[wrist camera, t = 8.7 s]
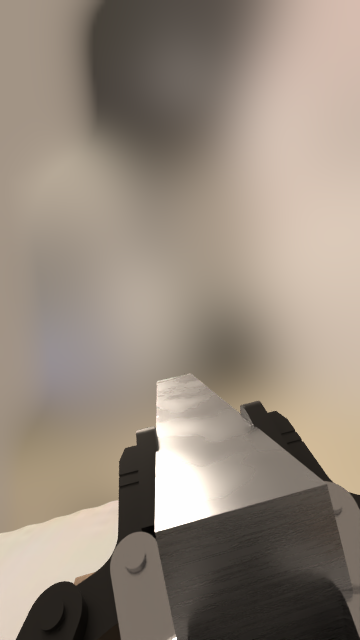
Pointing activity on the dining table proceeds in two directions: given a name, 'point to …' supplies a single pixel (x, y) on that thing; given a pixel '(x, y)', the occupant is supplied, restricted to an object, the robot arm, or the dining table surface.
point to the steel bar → (241, 527)
